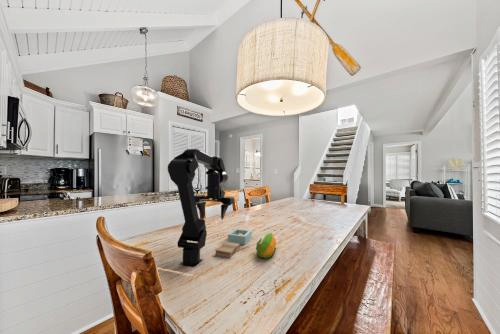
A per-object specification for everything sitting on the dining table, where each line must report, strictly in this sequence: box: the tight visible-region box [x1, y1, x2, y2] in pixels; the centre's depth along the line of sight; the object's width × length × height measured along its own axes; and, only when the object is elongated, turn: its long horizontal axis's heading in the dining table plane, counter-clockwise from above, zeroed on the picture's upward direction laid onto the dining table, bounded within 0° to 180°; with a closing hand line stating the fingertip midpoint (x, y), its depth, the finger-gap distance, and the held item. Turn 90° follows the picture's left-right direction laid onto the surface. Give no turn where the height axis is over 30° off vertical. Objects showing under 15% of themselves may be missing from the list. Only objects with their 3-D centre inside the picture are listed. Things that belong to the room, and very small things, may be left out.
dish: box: [227, 228, 253, 246], centre depth 99 cm, size 10×9×4 cm
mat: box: [213, 255, 231, 260], centre depth 85 cm, size 12×9×1 cm
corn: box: [255, 232, 277, 259], centre depth 87 cm, size 7×8×20 cm
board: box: [215, 241, 241, 258], centre depth 85 cm, size 10×6×2 cm, turn 162°
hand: (213, 218), depth 93 cm, fingers open, 9 cm apart
